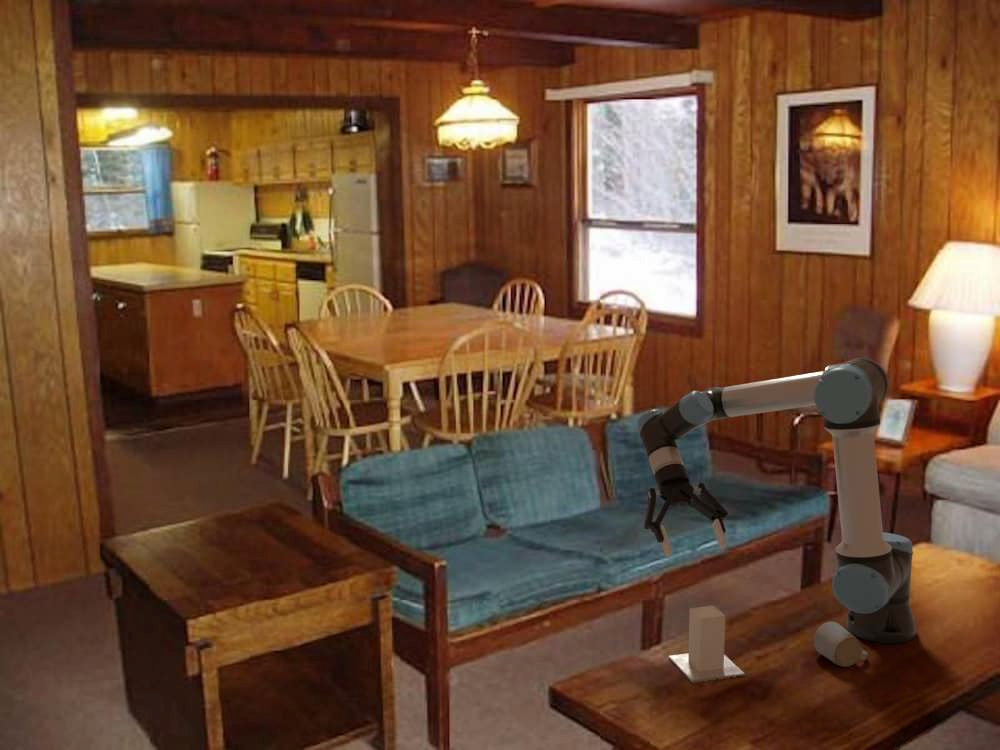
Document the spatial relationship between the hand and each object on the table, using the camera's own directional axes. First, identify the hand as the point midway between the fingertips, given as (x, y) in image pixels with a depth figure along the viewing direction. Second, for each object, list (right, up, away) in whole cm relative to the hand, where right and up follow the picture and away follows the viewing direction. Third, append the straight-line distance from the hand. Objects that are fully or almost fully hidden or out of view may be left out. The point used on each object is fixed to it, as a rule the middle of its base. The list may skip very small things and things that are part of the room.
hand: (696, 550), depth 240 cm
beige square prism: (0, -23, -11) cm, 25 cm away
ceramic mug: (+30, -23, -8) cm, 39 cm away
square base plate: (0, -23, -11) cm, 26 cm away
